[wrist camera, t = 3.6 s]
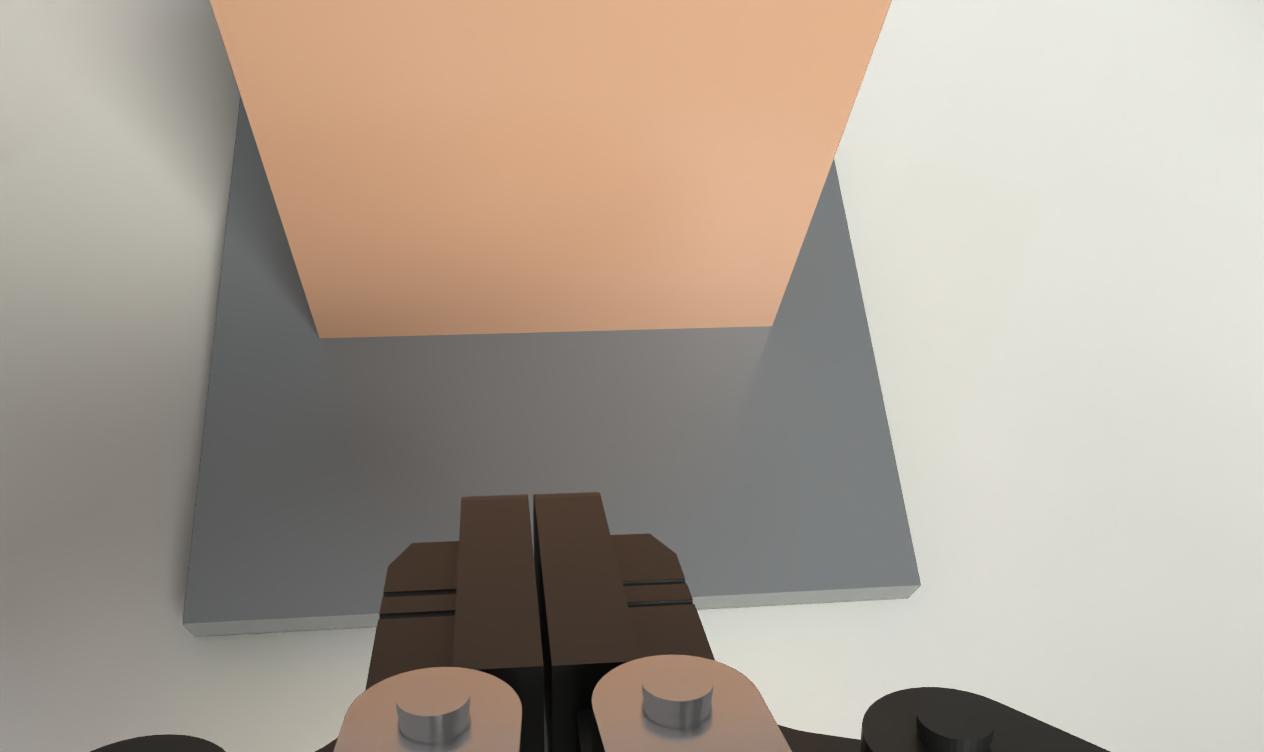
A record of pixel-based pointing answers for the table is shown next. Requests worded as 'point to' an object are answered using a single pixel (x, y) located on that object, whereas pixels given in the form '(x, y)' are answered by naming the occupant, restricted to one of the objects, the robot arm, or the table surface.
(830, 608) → the table surface
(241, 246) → the slate board
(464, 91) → the terracotta brick
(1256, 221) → the table surface
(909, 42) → the table surface
